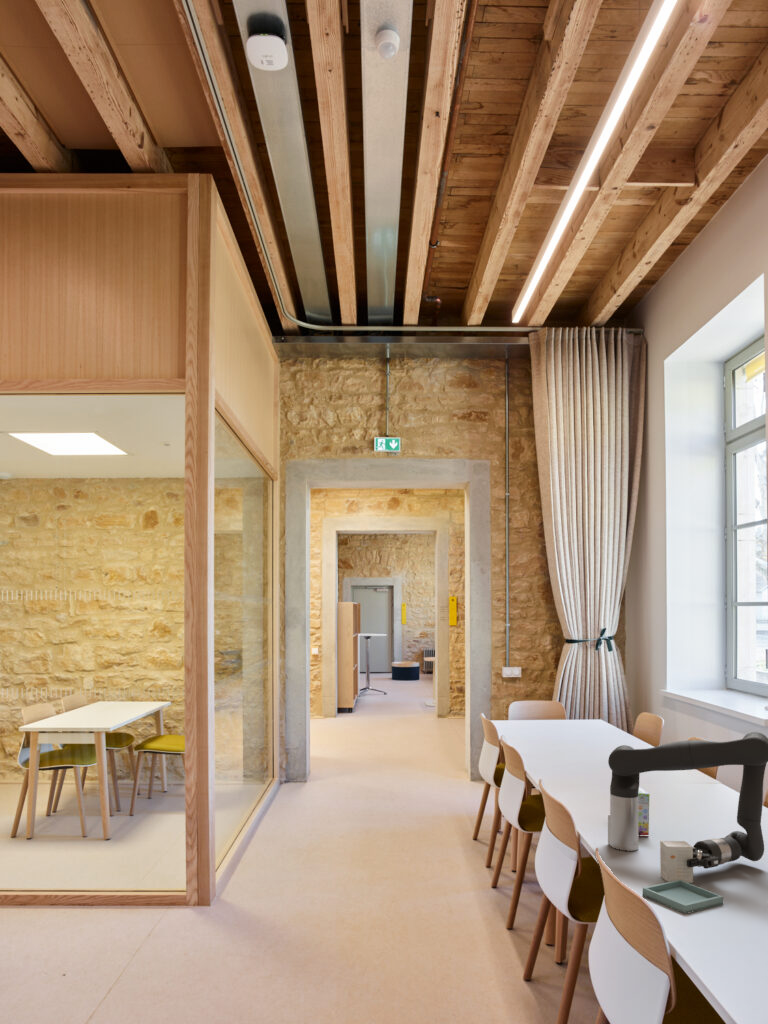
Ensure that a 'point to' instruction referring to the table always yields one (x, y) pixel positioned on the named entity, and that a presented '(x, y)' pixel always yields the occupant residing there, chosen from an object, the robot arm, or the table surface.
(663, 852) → the small box
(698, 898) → the tray
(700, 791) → the table surface
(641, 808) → the snack box
